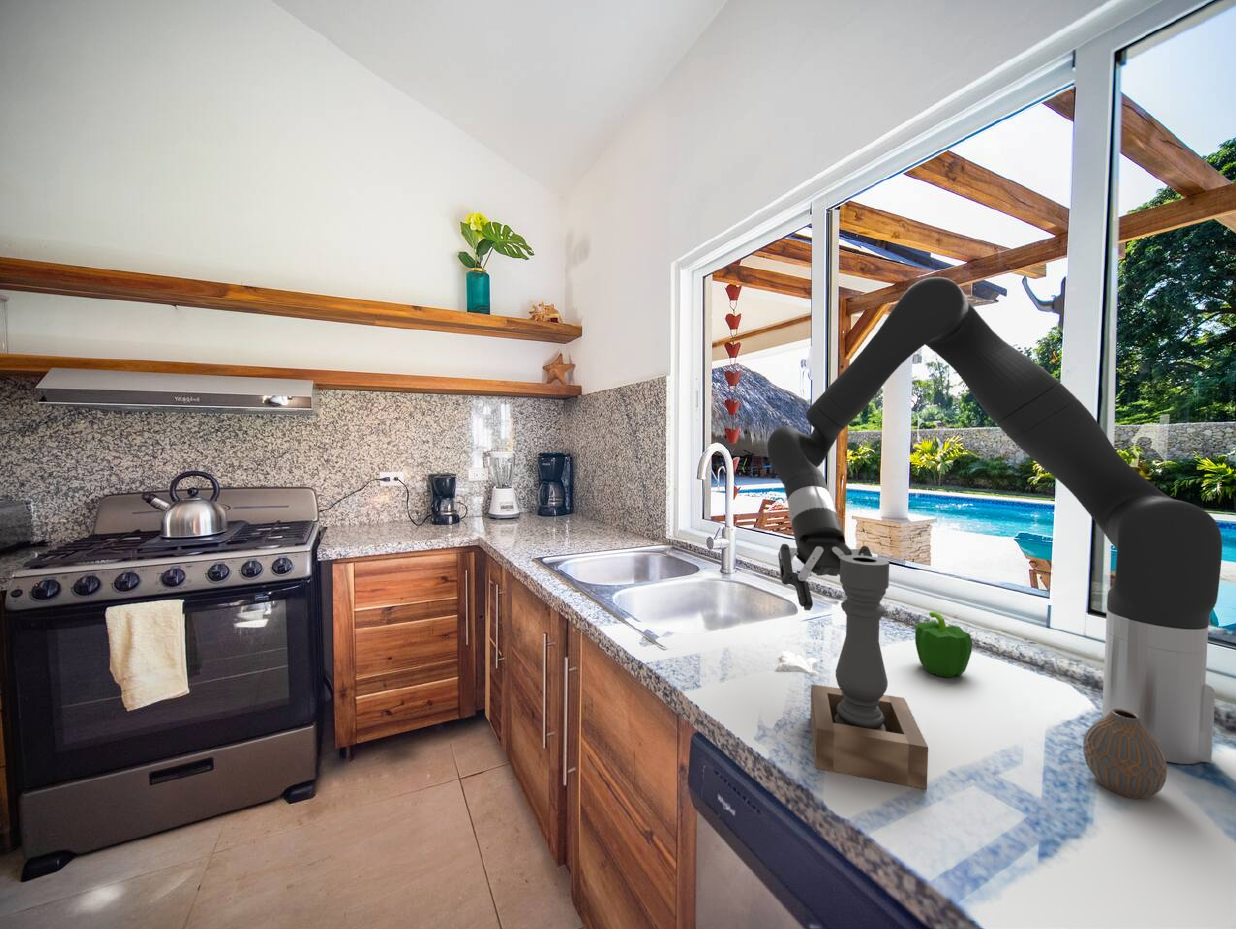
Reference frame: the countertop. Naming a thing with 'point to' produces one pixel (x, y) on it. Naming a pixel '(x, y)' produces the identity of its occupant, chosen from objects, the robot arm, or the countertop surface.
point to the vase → (1125, 755)
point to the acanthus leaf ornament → (797, 663)
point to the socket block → (869, 741)
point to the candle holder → (862, 642)
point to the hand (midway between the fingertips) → (838, 609)
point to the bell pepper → (942, 647)
